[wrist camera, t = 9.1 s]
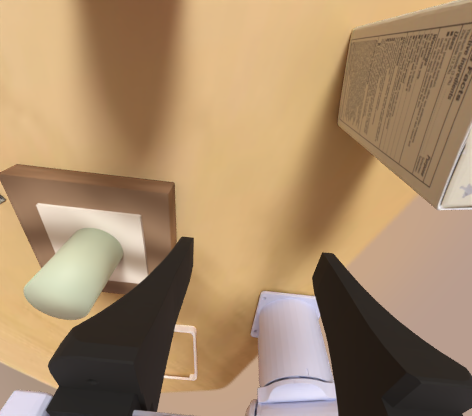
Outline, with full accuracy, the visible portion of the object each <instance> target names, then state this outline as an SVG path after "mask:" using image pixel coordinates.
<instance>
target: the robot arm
mask: <svg viewBox="0 0 472 416" xmlns="http://www.w3.org/2000/svg"><path fill="white" fill-rule="evenodd" d="M193 245H194V238H190V237H181V238H180V240H179V241H178V242H177V244H176V245H175V246H174V248H173V249H172V250H171V251H170V253H169V254H168V255H167V256H166V257H165V258H164V260H163V261H162V262H161V263H160V264H159V265H158V266H157V267H156V268H155V269H154V270H153V271H152V272H151V273H150V274H149V275H148V276H147V277H146V278H145V279H144V280H143V281H141V282H140V283H139V284H138V285H137V286H136V287H134V288H133V289H132V290H131V291H129V292H128V293H127V294H126V295H124V296H123V297H122V298H120V299H119V300H118V301H116V302H115V303H113V304H112V305H110V306H109V307H107V308H106V309H104V310H103V311H101V312H100V313H98V314H96V315H95V316H93V317H91V318H89V319H88V320H86V321H84V322H83V323H81V324H79V325H77V326H75V327H73V328H72V330H71V331H70V332H69V333H68V335H67V336H66V337H65V338H64V340H63V341H62V343H61V344H60V346H59V347H58V349H57V350H56V352H55V354H54V355H53V357H52V358H51V360H50V361H49V364H48V368H49V370H50V373H51V374H52V376H53V377H54V379H55V380H56V382H57V383H58V385H59V387H58V389H57V391H56V393H55V395H54V396H53V395H51V394H49V393H45V392H37V391H27V390H16V391H14V392H13V393H12V395H11V396H10V398H9V399H8V400H7V402H6V404H5V405H4V406H3V408H2V409H1V411H0V416H191V415H182V414H171V413H160V412H157V408H158V403H159V398H160V393H161V388H162V383H163V379H164V374H165V369H166V364H167V360H168V355H169V351H170V346H171V342H172V338H173V333H174V329H175V325H176V321H177V318H178V315H179V312H180V309H181V306H182V303H183V300H184V297H185V294H186V291H187V288H188V285H189V282H190V277H191V272H192V268H193ZM312 280H313V287H314V294H315V296H307V295H298V294H289V293H280V292H270V291H262V292H261V294H260V297H259V301H258V305H257V309H256V313H255V317H254V321H253V325H252V329H251V336H252V337H257V338H258V360H259V383H260V387H259V388H258V389H257V394H258V400H256V399H254V400H252V401H251V403H250V405H249V407H248V408H247V411H246V414H245V416H463V415H462V413H464V412H466V411H467V410H469V409H471V408H472V376H471V374H470V373H469V371H468V370H467V369H466V368H465V367H463V366H462V365H460V364H459V363H457V362H455V361H454V360H452V359H451V358H449V357H448V356H446V355H444V354H443V353H441V352H440V351H438V350H437V349H435V348H434V347H433V346H431V345H430V344H428V343H427V342H425V341H424V340H423V339H421V338H420V337H419V336H417V335H416V334H415V333H413V332H412V331H411V330H409V329H408V328H407V327H406V326H404V325H403V324H402V323H400V322H399V321H398V320H397V319H396V318H394V317H393V316H392V315H391V314H390V313H389V312H388V311H387V310H385V309H384V308H383V307H382V306H381V305H380V304H379V303H378V302H377V301H376V300H375V299H374V298H373V297H372V296H371V295H370V294H369V293H368V292H367V291H366V290H365V289H364V288H363V287H362V286H361V285H360V284H359V283H358V281H357V280H355V278H354V277H353V276H352V275H351V274H350V273H349V271H348V270H347V269H346V268H345V267H344V265H343V264H342V263H341V262H340V261H339V260H338V258H337V257H336V256H335V255H334V254H332V253H323V252H322V255H321V257H320V259H319V262H318V264H317V267H316V269H315V272H314V274H313V277H312ZM320 316H321V319H322V323H323V326H324V330H325V333H326V337H327V341H328V346H329V352H330V357H331V363H332V369H333V376H334V380H333V376H332V373H331V368H330V364H329V360H328V356H327V353H326V349H325V345H324V341H323V337H322V333H321V329H320V325H319V321H318V320H319V317H320Z"/></svg>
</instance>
